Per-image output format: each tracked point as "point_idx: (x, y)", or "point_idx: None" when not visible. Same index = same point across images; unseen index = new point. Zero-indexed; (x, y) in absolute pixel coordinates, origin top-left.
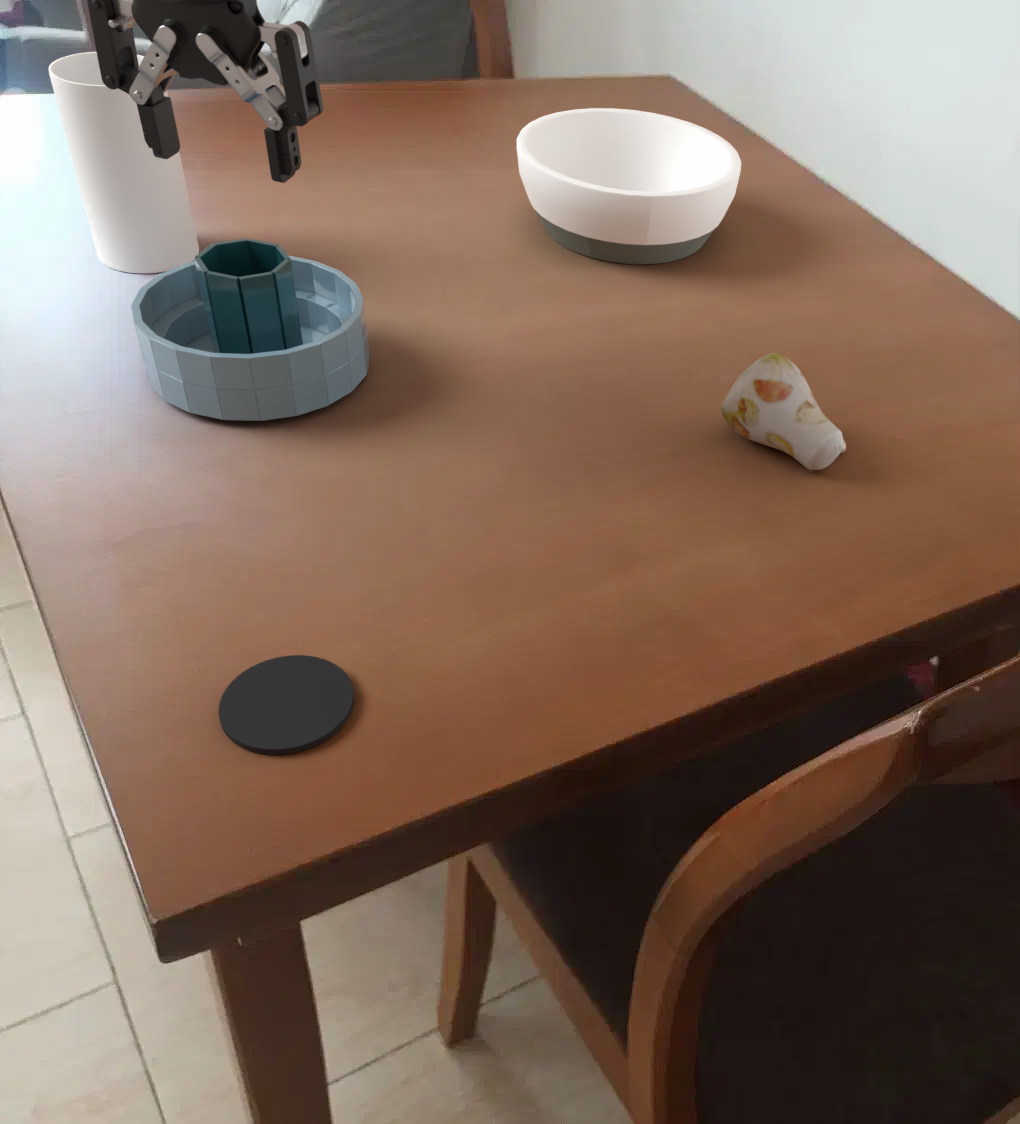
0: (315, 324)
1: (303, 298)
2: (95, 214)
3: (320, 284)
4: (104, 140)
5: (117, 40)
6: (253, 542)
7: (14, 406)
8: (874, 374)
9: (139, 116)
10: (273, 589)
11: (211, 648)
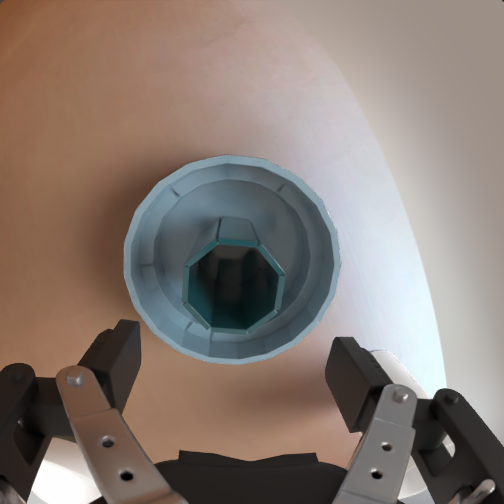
0: None
1: None
2: (407, 374)
3: (202, 344)
4: None
5: (463, 468)
6: (156, 40)
7: (383, 157)
8: None
9: (388, 376)
10: (133, 12)
11: None
